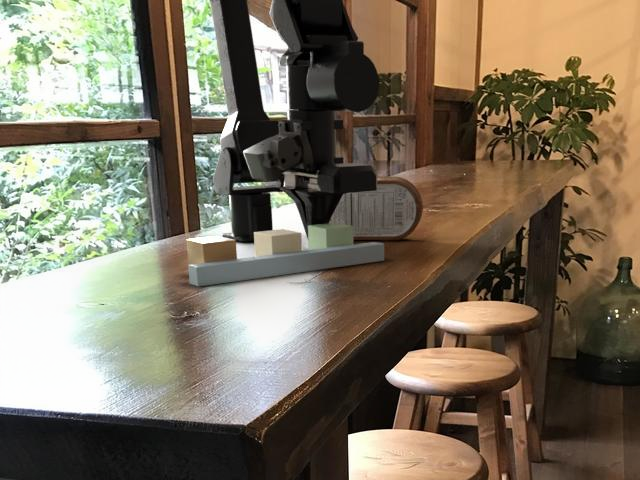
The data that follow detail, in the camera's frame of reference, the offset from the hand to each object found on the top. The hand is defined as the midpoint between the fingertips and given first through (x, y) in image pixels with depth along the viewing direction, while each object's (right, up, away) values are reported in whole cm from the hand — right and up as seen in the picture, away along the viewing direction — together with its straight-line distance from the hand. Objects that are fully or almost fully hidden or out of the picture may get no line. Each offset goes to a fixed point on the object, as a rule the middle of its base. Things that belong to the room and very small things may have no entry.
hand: (314, 246), depth 102 cm
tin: (+7, +4, +13) cm, 15 cm away
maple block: (-10, -7, -12) cm, 17 cm away
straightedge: (-2, -6, -9) cm, 11 cm away
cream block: (-4, -5, -7) cm, 9 cm away
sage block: (+2, -2, -2) cm, 4 cm away
